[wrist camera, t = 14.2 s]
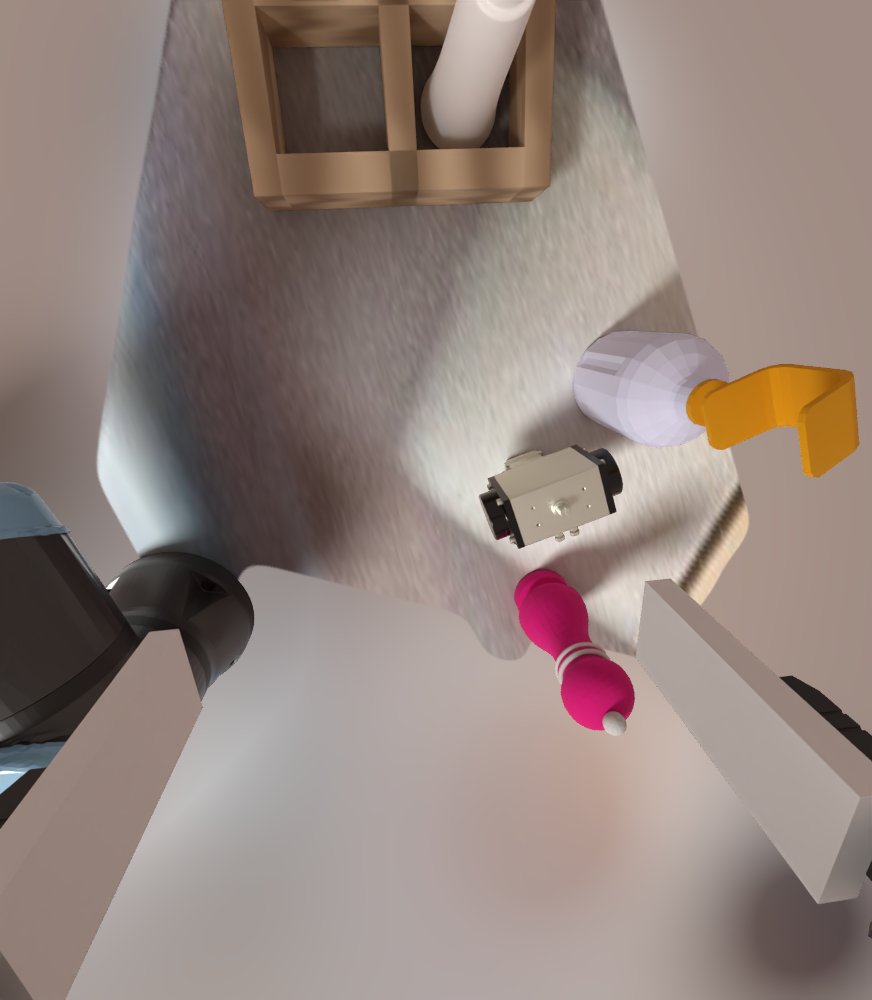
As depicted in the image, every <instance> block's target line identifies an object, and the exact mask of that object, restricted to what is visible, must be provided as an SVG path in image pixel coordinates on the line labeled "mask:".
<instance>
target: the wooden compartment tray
mask: <svg viewBox="0 0 872 1000" xmlns="http://www.w3.org/2000/svg"><path fill="white" fill-rule="evenodd" d="M455 3H456V0H222V5H223V11H224V17H225V23H226V29H227V35H228V41H229V47H230V53H231V59H232V65H233V71H234V77H235V83H236V89H237V96H238V102H239V108H240V114H241V120H242V126H243V132H244V138H245V144H246V150H247V156H248V162H249V168H250V174H251V180H252V186H253V192H254V196H255V197H256V198H257V199H258V200H259V201H260V202H261V203H262V204H263V205H264V206H265V207H266V208H267V209H268V210H269V211H286V210H312V209H339V208H366V207H392V206H419V205H446V204H472V203H499V202H526V201H532V200H533V199H534V198H536V197H537V196H538V195H539V194H540V193H542V192H543V191H544V190H545V189H547V188H548V187H549V186H550V167H551V135H552V104H553V72H554V40H555V9H556V0H535V3H534V6H533V8H532V11H531V14H530V17H529V20H528V22H527V25H526V27H525V30H524V33H523V35H522V38H521V40H520V43H519V45H518V48H517V50H516V53H515V55H514V58H513V60H512V63H511V65H510V68H509V89H508V147H507V148H472V149H437V150H417V146H416V128H415V110H414V92H413V74H412V56H411V46H443V44H444V41H445V38H446V34H447V31H448V27H449V24H450V21H451V17H452V14H453V10H454V7H455ZM360 46H379V49H380V62H381V75H382V89H383V102H384V116H385V129H386V142H387V151H366V152H331V153H296V154H287V152H286V145H285V138H284V131H283V124H282V117H281V109H280V102H279V95H278V88H277V81H276V74H275V67H274V59H273V52H272V48H274V47H360Z"/></svg>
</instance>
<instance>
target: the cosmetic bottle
mask: <svg viewBox="0 0 872 1000" xmlns="http://www.w3.org/2000/svg"><path fill="white" fill-rule="evenodd" d="M534 3H535V0H456V3H455V7H454V10H453V14H452V17H451V21H450V24H449V27H448V31H447V34H446V38H445V41H444V44H443V47H442V51H441V54H440V56H439V59H438V62H437V64H436V67H435V69H434V71H433V73H432V74H431V76H430V77H429V79H428V80H427V82H426V84H425V87H424V89H423V93H422V97H421V118H422V123H423V126H424V129H425V131H426V133H427V135H428V137H429V138H430V140H431V141H432V142H433V143H434V144H435V145H436V146H437V147H438V148H439V149H472V148H479V147H480V146H482V145H483V143H484V142H485V141H486V140H487V138H488V137H489V135H490V133H491V131H492V128H493V125H494V121H495V115H496V107H497V102H498V99H499V95H500V92H501V89H502V87H503V84H504V81H505V78H506V76H507V73H508V70H509V68H510V65H511V63H512V60H513V58H514V55H515V53H516V50H517V48H518V45H519V43H520V40H521V38H522V35H523V33H524V30H525V27H526V25H527V22H528V20H529V17H530V14H531V11H532V8H533V6H534Z"/></svg>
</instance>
